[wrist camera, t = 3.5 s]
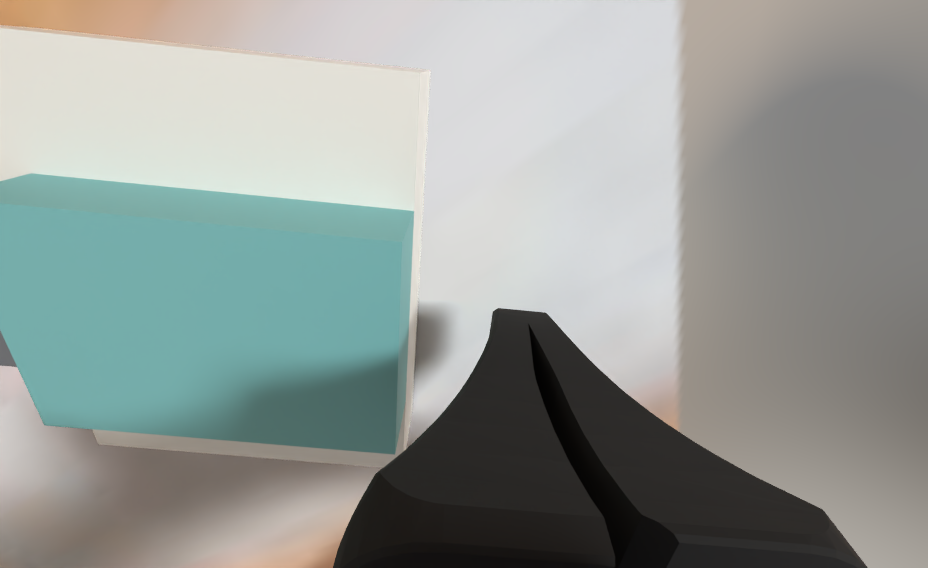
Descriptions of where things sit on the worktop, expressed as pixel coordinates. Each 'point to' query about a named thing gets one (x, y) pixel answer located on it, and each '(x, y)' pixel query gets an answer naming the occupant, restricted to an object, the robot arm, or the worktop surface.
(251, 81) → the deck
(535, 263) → the worktop surface
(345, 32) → the worktop surface
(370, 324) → the teal rectangular block
